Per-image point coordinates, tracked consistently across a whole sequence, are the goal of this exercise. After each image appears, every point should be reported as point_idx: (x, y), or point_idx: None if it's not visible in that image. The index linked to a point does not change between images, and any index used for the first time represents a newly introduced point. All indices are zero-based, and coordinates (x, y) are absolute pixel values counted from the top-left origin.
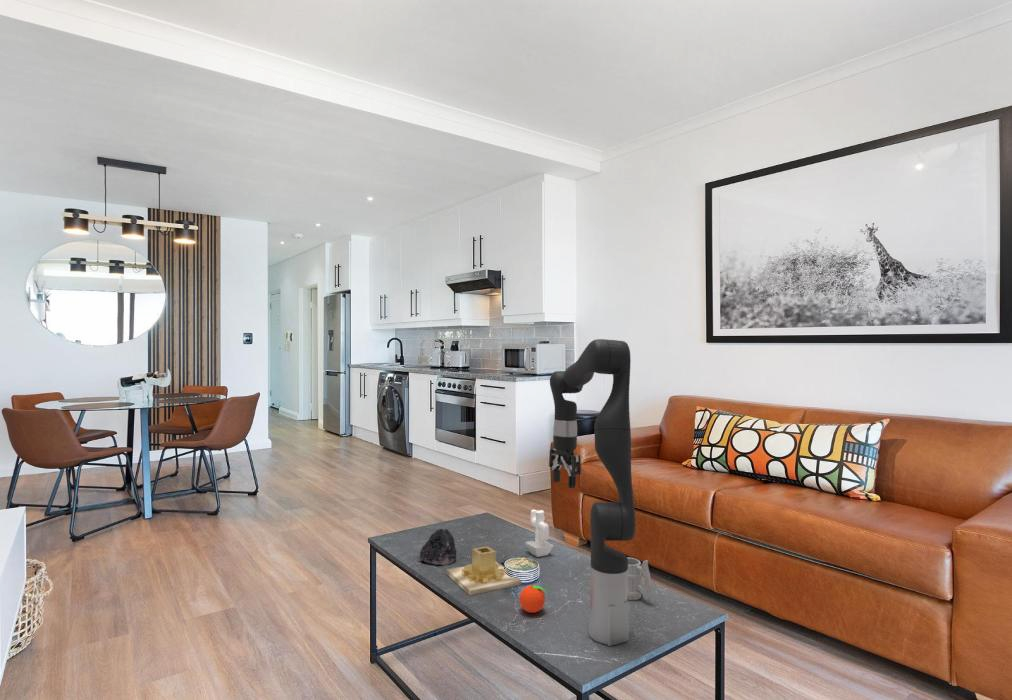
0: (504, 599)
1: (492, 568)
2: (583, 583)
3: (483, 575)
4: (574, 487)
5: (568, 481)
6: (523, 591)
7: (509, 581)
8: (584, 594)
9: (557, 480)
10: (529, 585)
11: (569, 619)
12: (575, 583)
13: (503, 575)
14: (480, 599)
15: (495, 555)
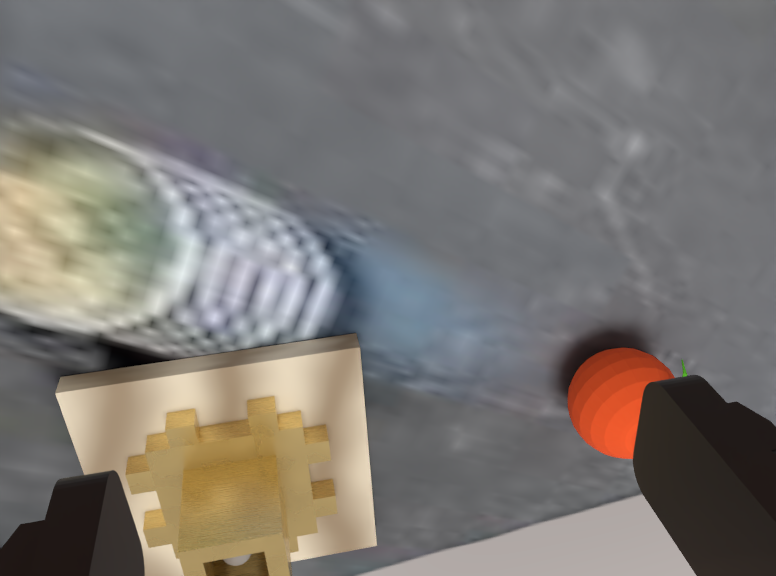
0: (459, 430)
1: (279, 480)
2: (474, 7)
3: (304, 506)
4: (686, 378)
5: (704, 574)
6: (629, 458)
7: (354, 397)
8: (590, 83)
9: (125, 532)
10: (630, 442)
11: (729, 266)
12: (453, 55)
13: (277, 404)
14: (419, 502)
15: (281, 519)
